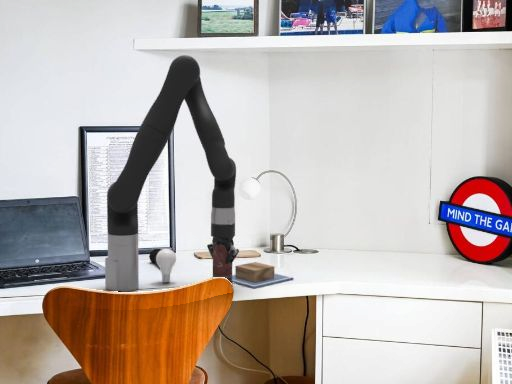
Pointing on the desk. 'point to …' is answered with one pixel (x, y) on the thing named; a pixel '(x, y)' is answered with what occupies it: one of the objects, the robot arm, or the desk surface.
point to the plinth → (254, 272)
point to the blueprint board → (277, 279)
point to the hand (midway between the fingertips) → (222, 276)
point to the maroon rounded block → (221, 262)
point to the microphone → (154, 255)
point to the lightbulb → (166, 263)
